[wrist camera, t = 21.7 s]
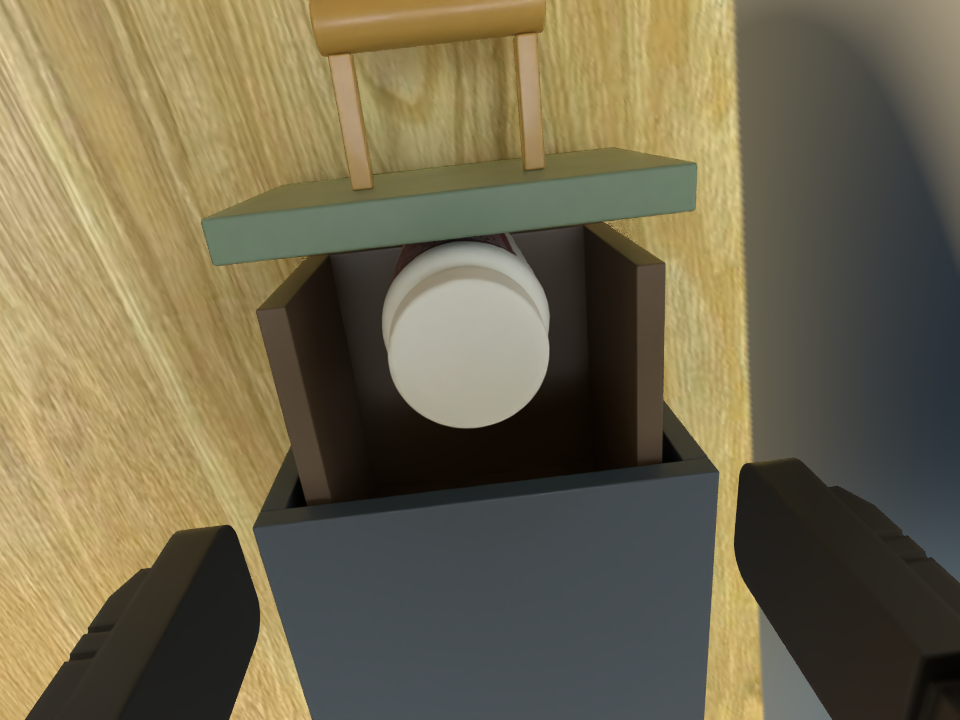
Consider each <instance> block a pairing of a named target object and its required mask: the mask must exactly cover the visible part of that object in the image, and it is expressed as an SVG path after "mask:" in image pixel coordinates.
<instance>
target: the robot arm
mask: <svg viewBox="0 0 960 720" xmlns="http://www.w3.org/2000/svg"><path fill="white" fill-rule="evenodd" d="M734 550H735V556H736V561H737V565H738V568H739V571H740V573H741V576H742V578H743V580H744V582H745V584H746V585H747V587H748V589H749V590H750V592H751V593H752V595H753V596H754V598H755V600H756V601H757V603H758V604H759V606H760V607H761V609H762V610H763V612H764V614H765V615H766V616H767V618H768V620H769V621H770V623H771V625H772V626H773V628H774V629H775V631H776V632H777V634H778V636H779V637H780V639H781V640H782V642H783V643H784V645H785V646H786V648H787V650H788V651H789V653H790V654H791V656H792V657H793V659H794V660H795V662H796V664H797V665H798V666H799V668H800V670H801V672H802V673H803V675H804V676H805V678H806V679H807V681H808V682H809V684H810V685H811V687H812V689H813V690H814V692H815V693H816V695H817V697H818V698H819V700H820V701H821V703H822V704H823V706H824V707H825V709H826V710H827V712H828V714H829V715H830V717H831V718H832V720H960V583H959V582H958V581H957V580H956V579H955V578H954V577H953V576H951V575H950V574H949V573H948V572H947V571H946V570H945V569H944V568H942V566H940V565H939V564H938V563H937V562H936V561H935V560H934V559H933V558H932V557H931V558H927V556H926V554H925V551H924V550H923V549H922V548H921V547H920V546H919V545H917V544H916V543H915V542H914V541H913V540H912V539H911V538H910V537H909V536H904V535H903V534H902V530H901V529H900V528H899V527H898V526H897V525H896V524H894V523H893V522H892V521H891V520H890V519H889V518H888V517H887V516H885V514H884V513H882V512H881V511H880V510H879V509H878V508H877V507H876V506H875V505H873V504H871V503H869V502H867V501H865V500H864V499H861V498H860V497H858V496H856V495H854V494H852V493H850V492H848V491H846V490H845V489H843V488H841V487H839V486H834V487H827V486H826V485H825V484H824V483H823V482H822V481H821V480H820V479H819V478H818V477H817V476H816V475H815V474H814V473H813V472H812V471H811V470H810V469H809V468H808V467H807V466H806V465H805V464H804V463H803V462H801V461H800V460H798V459H796V458H788V459H779V460H772V461H763V462H755V463H746V464H744V465H743V467H742V468H741V471H740V475H739V485H738V498H737V510H736V523H735V535H734ZM259 627H260V608H259V601H258V597H257V594H256V591H255V588H254V585H253V582H252V579H251V576H250V573H249V570H248V567H247V564H246V561H245V558H244V555H243V552H242V549H241V546H240V543H239V540H238V537H237V534H236V532H235V530H234V529H233V528H232V527H231V526H230V525H222V526H213V527H205V528H197V529H189V530H181V531H177V532H176V533H174V534H173V535H172V537H171V538H170V539H169V541H168V543H167V544H166V546H165V547H164V549H163V550H162V552H161V553H160V555H159V557H158V558H157V560H156V561H155V563H154V564H153V566H152V568H147V569H141V570H140V571H139V572H137V573H136V574H135V575H134V576H133V577H132V578H131V579H129V580H128V581H127V582H126V583H125V584H124V585H123V586H121V587H120V588H119V589H118V590H117V591H116V592H115V593H113V594H112V595H111V596H110V597H109V598H108V600H107V601H106V603H105V604H104V606H103V607H102V608H101V610H100V611H99V613H98V614H97V616H96V617H95V619H94V620H93V622H92V623H91V624H90V626H89V627H88V634H84V635H83V636H82V637H81V639H80V640H79V642H78V643H77V645H76V646H75V648H74V649H73V651H72V652H71V653H70V660H69V661H67V662H64V664H63V665H62V666H61V668H60V669H59V671H58V672H57V674H56V675H55V677H54V678H53V680H52V681H51V682H50V684H49V685H48V687H47V688H46V690H45V691H44V693H43V694H42V695H41V697H40V698H39V700H38V701H37V703H36V704H35V706H34V707H33V709H32V710H31V711H30V713H29V714H28V716H27V717H26V719H25V720H229V718H230V716H231V713H232V710H233V707H234V704H235V702H236V699H237V696H238V693H239V690H240V687H241V685H242V682H243V679H244V676H245V673H246V670H247V668H248V665H249V662H250V659H251V656H252V653H253V651H254V648H255V645H256V642H257V638H258V634H259Z"/></svg>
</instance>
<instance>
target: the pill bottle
mask: <svg viewBox="0 0 960 720" xmlns="http://www.w3.org/2000/svg"><path fill="white" fill-rule="evenodd" d="M549 319H550V314H549V306H548V301H547V297H546V295H545V292H544V289H543V287H542V285H541V283H540V282H539V280H538V279H537V277H536V275H535V273H534V271H533V270H532V268H531V267H530V265H529V264H528V262H527V260H526V258H525V257H524V255H523V254H522V252H521V250H520V249H519V247H518V245H517V243H516V242H515V240H514V239H513V237H512V236H511V235H510V234H509V233H499V234H490V235H482V236H473V237H465V238H456V239H447V240H439V241H430V242H421V243H413V244H404V245H403V247H402V249H401V251H400V254H399V256H398V260H397V263H396V267H395V270H394V273H393V276H392V280H391V283H390V287H389V289H388V291H387V293H386V296H385V301H384V305H383V313H382V332H383V338H384V343H385V346H386V349H387V352H388V363H389V369H390V373H391V377H392V379H393V382H394V384H395V386H396V388H397V390H398V391H399V393H400V394H401V396H402V397H403V398H404V400H405V401H406V402H407V403H408V404H409V405H410V406H411V407H412V408H413V409H414V410H416V411H417V412H418V413H420V414H421V415H423V416H424V417H426V418H428V419H430V420H432V421H434V422H436V423H439V424H442V425H446V426H451V427H456V428H478V427H484V426H488V425H492V424H495V423H498V422H501V421H503V420H505V419H507V418H509V417H511V416H512V415H514V414H515V413H517V412H518V411H519V410H521V409H522V408H523V407H524V406H525V405H526V404H527V403H528V402H529V401H530V400H531V399H532V398H533V397H534V395H535V394H536V393H537V391H538V389H539V388H540V386H541V384H542V382H543V379H544V377H545V375H546V371H547V367H548V361H549V340H548V332H549Z"/></svg>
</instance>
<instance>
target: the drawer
mask: <svg viewBox="0 0 960 720" xmlns="http://www.w3.org/2000/svg"><path fill="white" fill-rule="evenodd" d="M309 9H310V18H311V24H312V29H313V33H314V37H315V41H316V44H317V47H318V49H319V51H320V53H321V55H322V56H324V57H327V56H328V60H329V65H330V71H331V76H332V82H333V87H334V93H335V98H336V104H337V109H338V115H339V120H340V126H341V131H342V137H343V142H344V148H345V153H346V159H347V164H348V170H349V175H350V177H349V178H341V179H332V180H323V181H314V182H306V183H297V184H288V185H281V186H279V187H277V188H274V189H272V190H269V191H267V192H265V193H262V194H260V195H258V196H255V197H253V198H251V199H248V200H246V201H244V202H241V203H239V204H237V205H234V206H232V207H229V208H227V209H225V210H222V211H220V212H218V213H215V214H213V215H211V216H208V217H206V218H204V219H202V220H201V224H202V228H203V232H204V235H205V239H206V242H207V246H208V249H209V253H210V256H211V260H212V263H213V265H214V266H222V265H231V264H240V263H248V262H257V261H266V260H274V259H283V258H292V257H300V256H309V255H310V256H309V257H307V258H306V260H305V261H304V262H303V263H302V264H301V265H300V266H299V267H298V268H297V269H296V270H295V271H294V272H293V273H292V274H291V275H290V276H289V277H288V278H287V279H286V280H285V281H284V282H283V283H282V284H281V285H280V286H279V287H278V288H277V290H276V291H275V292H274V293H273V294H272V295H271V296H270V297H269V298H268V299H267V300H266V301H265V302H264V303H263V304H262V305H261V306H260V307H259V308H258V309H257V310H256V314H257V318H258V321H259V325H260V329H261V333H262V337H263V340H264V344H265V348H266V352H267V356H268V359H269V363H270V367H271V371H272V375H273V378H274V382H275V386H276V390H277V394H278V397H279V401H280V405H281V409H282V413H283V416H284V420H285V424H286V428H287V432H288V435H289V439H290V443H291V447H292V451H293V454H294V458H295V462H296V466H297V470H298V473H299V477H300V481H301V485H302V489H303V492H304V496H305V500H306V504H307V506H315V505H323V504H332V503H340V502H348V501H357V500H365V499H373V498H381V497H390V496H398V495H406V494H415V493H423V492H431V491H439V490H448V489H456V488H464V487H473V486H481V485H489V484H497V483H506V482H514V481H522V480H531V479H539V478H547V477H555V476H564V475H572V474H580V473H589V472H597V471H605V470H613V469H622V468H630V467H638V466H647V465H655V464H662V436H663V379H664V321H665V263H664V262H663V261H661V260H660V259H658V258H657V257H655V256H654V255H652V254H651V253H649V252H648V251H646V250H645V249H643V248H642V247H640V246H639V245H637V244H636V243H634V242H633V241H631V240H630V239H628V238H627V237H625V236H624V235H622V234H621V233H619V232H618V231H616V230H615V229H613V228H612V227H610V226H609V225H607V224H606V223H603V221H612V220H620V219H629V218H638V217H646V216H655V215H664V214H672V213H681V212H689V211H693V210H695V208H696V183H697V164H696V163H694V162H689V161H684V160H678V159H673V158H667V157H662V156H657V155H651V154H646V153H640V152H635V151H630V150H624V149H619V148H613V147H612V148H604V149H595V150H586V151H577V152H569V153H560V154H551V155H544V140H543V123H542V106H541V89H540V72H539V55H538V38H537V33H541V32H542V31H543V30H544V26H545V16H546V0H310V2H309ZM515 35H516V36H515ZM506 36H515V37H514V39H513V43H514V57H515V71H516V84H517V98H518V112H519V126H520V139H521V153H522V158H516V159H507V160H498V161H490V162H481V163H472V164H463V165H455V166H446V167H437V168H428V169H420V170H411V171H402V172H393V173H385V174H376V175H373V172H372V166H371V160H370V154H369V148H368V142H367V136H366V130H365V124H364V118H363V112H362V106H361V100H360V94H359V88H358V82H357V76H356V70H355V64H354V58H353V55H351V54H354V53H363V52H372V51H381V50H390V49H399V48H408V47H417V46H426V45H435V44H444V43H453V42H462V41H470V40H479V39H488V38H497V37H506ZM499 233H509V234H510V235H511V236H512V237H513V239H514V240H515V242H516V243H517V245H518V247H519V249H520V250H521V252H522V254H523V255H524V257H525V258H526V260H527V262H528V264H529V265H530V267H531V268H532V270H533V271H534V273H535V275H536V277H537V279H538V280H539V282H540V283H541V285H542V287H543V289H544V292H545V295H546V297H547V301H548V306H549V314H550V319H549V332H548V340H549V361H548V367H547V371H546V375H545V377H544V379H543V382H542V384H541V386H540V388H539V389H538V391H537V393H536V394H535V395H534V397H533V398H532V399H531V400H530V401H529V402H528V403H527V404H526V405H525V406H524V407H523V408H522V409H521V410H519V411H518V412H517V413H515V414H514V415H512V416H511V417H509V418H507V419H505V420H503V421H501V422H498V423H495V424H492V425H488V426H484V427H478V428H456V427H451V426H446V425H442V424H439V423H436V422H434V421H432V420H430V419H428V418H426V417H424V416H423V415H421V414H420V413H418V412H417V411H416V410H414V409H413V408H412V407H411V406H410V405H409V404H408V403H407V402H406V401H405V400H404V398H403V397H402V396H401V394H400V393H399V391H398V390H397V388H396V386H395V384H394V382H393V379H392V377H391V373H390V369H389V363H388V352H387V349H386V346H385V343H384V338H383V332H382V313H383V305H384V301H385V296H386V293H387V291H388V289H389V287H390V283H391V280H392V276H393V273H394V270H395V267H396V263H397V260H398V256H399V254H400V251H401V249H402V247H403V245H404V244H413V243H421V242H430V241H439V240H447V239H456V238H465V237H473V236H482V235H490V234H499Z"/></svg>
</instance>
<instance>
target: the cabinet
mask: <svg viewBox="0 0 960 720" xmlns="http://www.w3.org/2000/svg"><path fill="white" fill-rule="evenodd" d="M718 483H719V471H718V470H717V469H716V467H715V466H714V465H713V463H712V462H711V461H710V460H709V459H708V457H707V455H706V454H705V453H704V452H703V450H702V449H701V448H700V446H699V445H698V444H697V443H696V441H695V440H694V439H693V437H692V436H691V435H690V434H689V432H688V431H687V430H686V428H685V427H684V426H683V424H682V423H681V422H680V421H679V419H678V418H677V417H676V415H675V414H674V413H673V412H672V410H671V409H670V408H669V406H668V405H667V404H666V402H665V401H664V400H663V436H662V464H655V465H647V466H638V467H630V468H622V469H613V470H605V471H597V472H589V473H580V474H572V475H564V476H555V477H547V478H539V479H531V480H522V481H514V482H506V483H497V484H489V485H481V486H473V487H464V488H456V489H448V490H439V491H431V492H423V493H415V494H406V495H398V496H390V497H381V498H373V499H365V500H357V501H348V502H340V503H332V504H323V505H315V506H307V504H306V500H305V496H304V492H303V489H302V485H301V481H300V477H299V473H298V470H297V466H296V462H295V458H294V454H293V451H292V447H291V446H290V449H289V451H288V453H287V455H286V457H285V459H284V462H283V464H282V466H281V468H280V470H279V472H278V474H277V477H276V479H275V481H274V483H273V485H272V487H271V489H270V492H269V494H268V496H267V498H266V500H265V502H264V505H263V507H262V509H261V512H260V513H259V515H258V518H257V520H256V522H255V524H254V526H253V532H254V535H255V538H256V542H257V545H258V548H259V551H260V555H261V558H262V561H263V564H264V567H265V571H266V574H267V577H268V580H269V583H270V587H271V590H272V593H273V596H274V599H275V603H276V606H277V609H278V612H279V615H280V619H281V622H282V625H283V628H284V632H285V635H286V638H287V641H288V644H289V648H290V651H291V654H292V657H293V660H294V664H295V667H296V670H297V673H298V676H299V680H300V683H301V686H302V689H303V692H304V696H305V699H306V702H307V705H308V708H309V712H310V715H311V718H312V720H704V711H705V694H706V678H707V662H708V646H709V629H710V613H711V597H712V580H713V564H714V548H715V532H716V515H717V499H718Z"/></svg>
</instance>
